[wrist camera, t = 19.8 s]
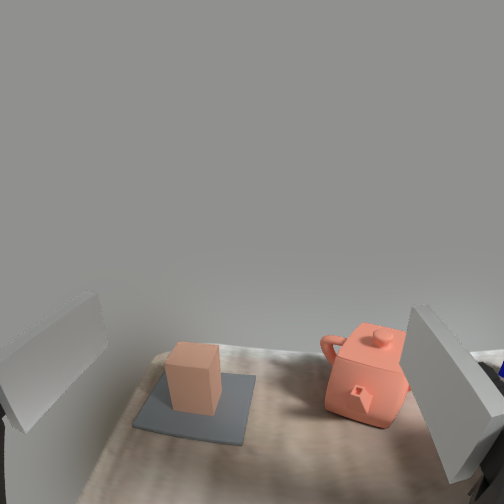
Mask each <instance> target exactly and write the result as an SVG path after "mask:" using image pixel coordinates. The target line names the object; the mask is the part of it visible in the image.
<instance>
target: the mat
mask: <svg viewBox="0 0 504 504" xmlns="http://www.w3.org/2000/svg"><path fill="white" fill-rule="evenodd" d="M255 379H256V375H241V374H229V373H221V385H222V392H221V395H220V398H219V401H218V404H217V407H216V410H215V413H214V416H208V415H201V414H194V413H187V412H181V411H175V410H173V406H172V401H171V396H170V391H169V386H168V381H167V375H166V370H165V372H164V373H163V375H162V376H161V378H160V380H159V381H158V383H157V385H156V386H155V388H154V389H153V391H152V393H151V394H150V396H149V398H148V399H147V401H146V402H145V404H144V406H143V407H142V409H141V411H140V412H139V414H138V415H137V417H136V419H135V420H134V422H133V424H132V426H133V427H135V428H139V429H143V430H148V431H152V432H157V433H161V434H166V435H171V436H176V437H182V438H188V439H194V440H200V441H207V442H214V443H222V444H230V445H240V446H242V444H243V439H244V434H245V429H246V424H247V419H248V414H249V409H250V404H251V399H252V394H253V389H254V384H255Z"/></svg>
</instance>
